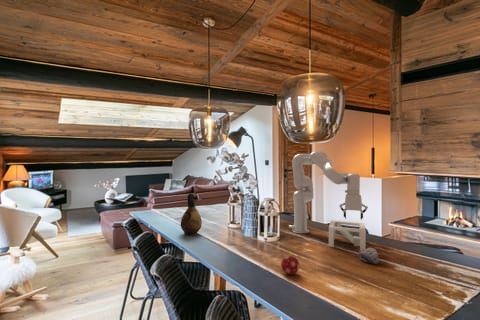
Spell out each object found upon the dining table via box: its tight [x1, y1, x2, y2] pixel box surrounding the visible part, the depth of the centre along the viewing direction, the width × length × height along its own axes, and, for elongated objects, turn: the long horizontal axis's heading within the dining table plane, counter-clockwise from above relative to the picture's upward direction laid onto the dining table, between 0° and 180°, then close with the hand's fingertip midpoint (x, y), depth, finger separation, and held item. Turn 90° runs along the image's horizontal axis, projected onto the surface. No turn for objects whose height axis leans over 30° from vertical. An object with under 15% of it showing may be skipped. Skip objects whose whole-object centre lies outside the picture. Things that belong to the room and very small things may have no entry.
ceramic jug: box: [180, 192, 203, 237], centre depth 205 cm, size 17×15×30 cm
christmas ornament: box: [280, 252, 300, 276], centre depth 134 cm, size 9×9×10 cm
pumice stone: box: [358, 247, 380, 265], centre depth 152 cm, size 10×8×10 cm
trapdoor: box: [335, 222, 355, 244], centre depth 183 cm, size 15×14×1 cm
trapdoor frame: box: [328, 220, 367, 251], centre depth 183 cm, size 22×21×12 cm
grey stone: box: [353, 235, 360, 247], centre depth 180 cm, size 5×5×5 cm
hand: (353, 218), depth 181 cm, fingers open, 9 cm apart
